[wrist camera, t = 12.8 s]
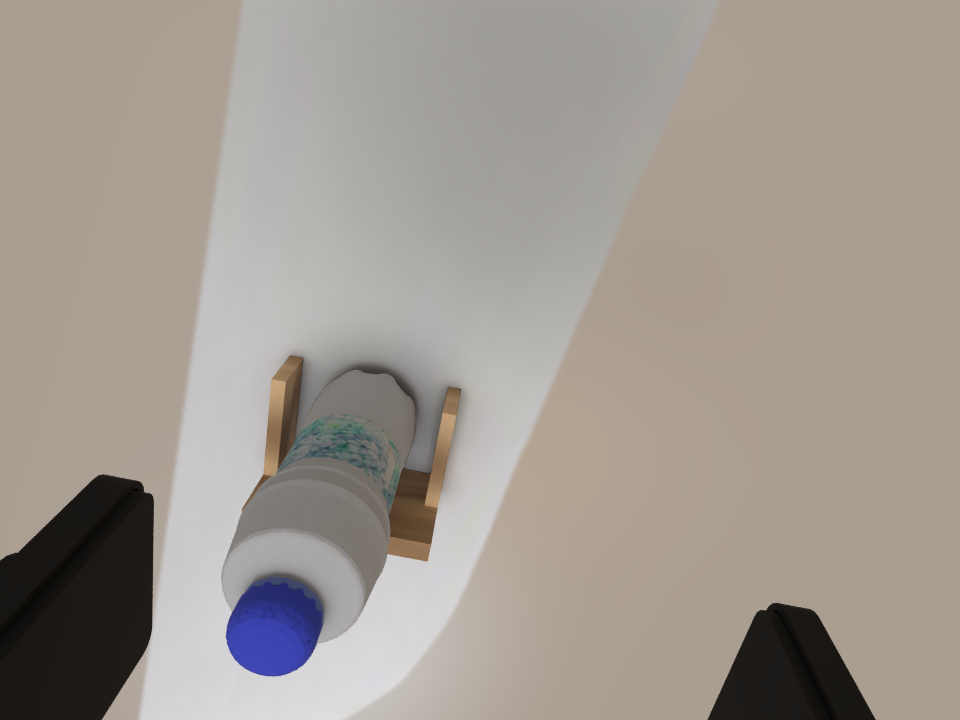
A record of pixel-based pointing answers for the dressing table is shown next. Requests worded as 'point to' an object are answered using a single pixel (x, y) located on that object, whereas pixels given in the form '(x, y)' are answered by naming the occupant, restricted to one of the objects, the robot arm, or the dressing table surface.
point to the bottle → (318, 526)
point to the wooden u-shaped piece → (414, 489)
